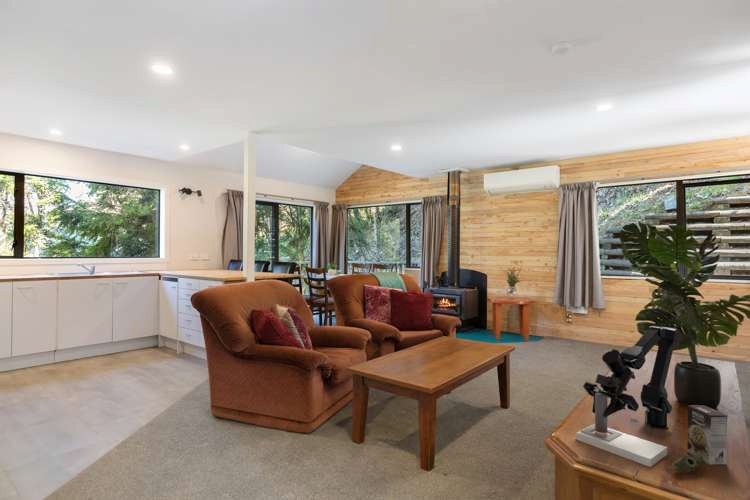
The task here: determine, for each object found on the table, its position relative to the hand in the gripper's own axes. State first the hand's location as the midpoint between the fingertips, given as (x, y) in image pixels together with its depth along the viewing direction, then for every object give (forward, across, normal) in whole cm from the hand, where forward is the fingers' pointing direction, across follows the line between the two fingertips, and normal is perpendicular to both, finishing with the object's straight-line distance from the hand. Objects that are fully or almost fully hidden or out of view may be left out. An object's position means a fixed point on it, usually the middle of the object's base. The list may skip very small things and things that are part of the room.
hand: (598, 414), depth 153 cm
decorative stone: (+2, +26, +12) cm, 29 cm away
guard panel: (+5, +6, +9) cm, 12 cm away
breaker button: (+5, 0, +8) cm, 9 cm away
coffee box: (-9, +24, +22) cm, 34 cm away
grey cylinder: (+4, 0, +6) cm, 7 cm away
